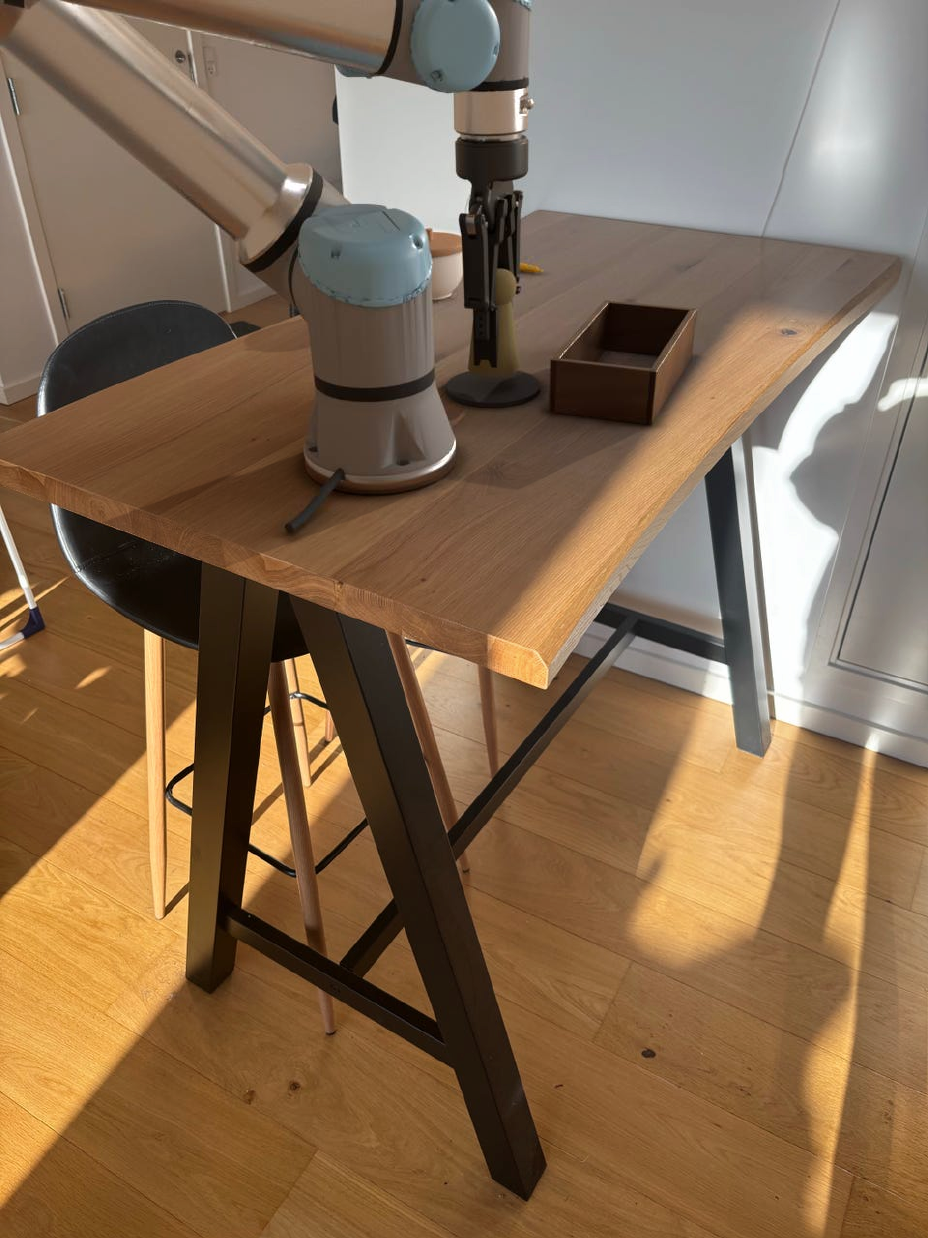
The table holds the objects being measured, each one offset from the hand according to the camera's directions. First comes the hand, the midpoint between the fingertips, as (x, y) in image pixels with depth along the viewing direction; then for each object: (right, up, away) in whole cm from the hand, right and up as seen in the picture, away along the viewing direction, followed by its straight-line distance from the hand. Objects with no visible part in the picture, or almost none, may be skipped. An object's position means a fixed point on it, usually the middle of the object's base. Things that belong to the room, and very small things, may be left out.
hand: (493, 358), depth 113 cm
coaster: (0, -3, +2) cm, 4 cm away
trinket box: (-8, +19, +34) cm, 40 cm away
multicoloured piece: (+3, +27, +46) cm, 54 cm away
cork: (0, -1, +1) cm, 1 cm away
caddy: (+16, -2, +3) cm, 16 cm away
